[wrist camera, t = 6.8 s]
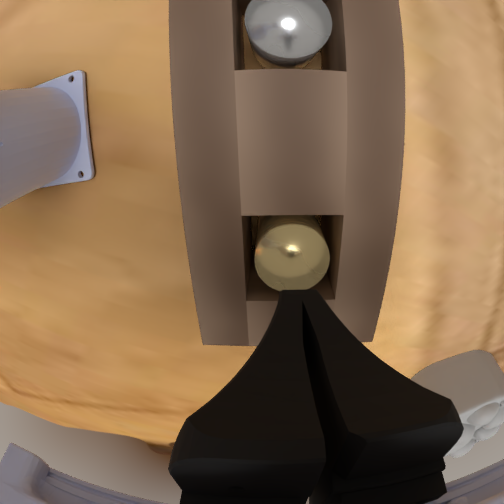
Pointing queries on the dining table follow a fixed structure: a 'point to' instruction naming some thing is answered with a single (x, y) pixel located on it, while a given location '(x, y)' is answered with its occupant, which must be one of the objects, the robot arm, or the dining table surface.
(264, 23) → the grey metal peg
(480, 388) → the lumpy-topped squat cylinder
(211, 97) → the walnut block
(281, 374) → the robot arm
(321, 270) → the brass peg
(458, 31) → the dining table surface
